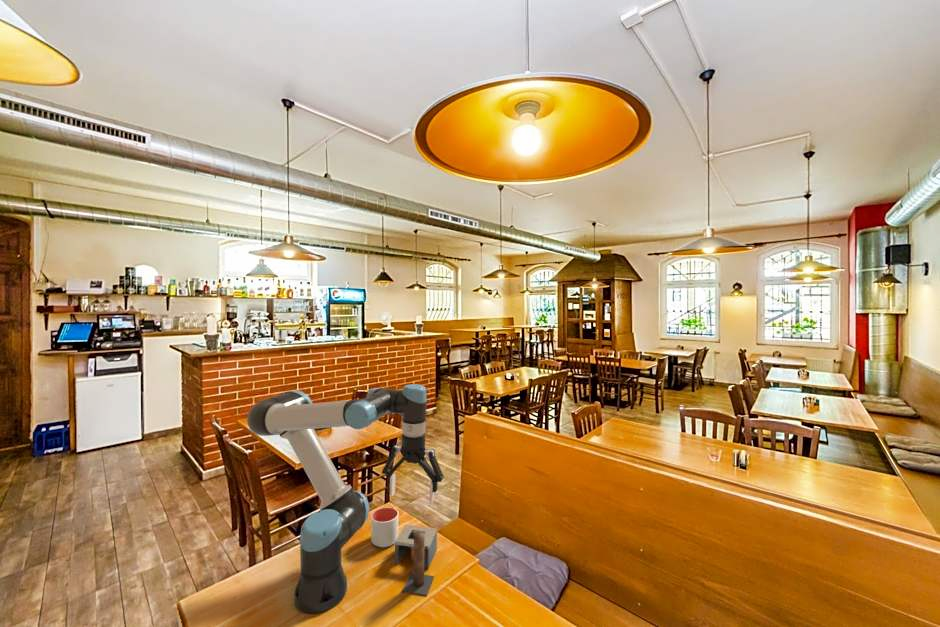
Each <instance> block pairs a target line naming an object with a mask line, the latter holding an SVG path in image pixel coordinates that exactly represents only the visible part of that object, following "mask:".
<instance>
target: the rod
mask: <svg viewBox="0 0 940 627" xmlns="http://www.w3.org/2000/svg"><path fill="white" fill-rule="evenodd" d="M424 539H425V534H424V532H422V531H418V532H415V533H414V561H413V572H412V573H413V585H414V586H415V587H422V586H423V585H424V575H425V551H424Z"/></svg>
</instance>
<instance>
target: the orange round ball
mask: <svg viewBox="0 0 940 627" xmlns="http://www.w3.org/2000/svg"><path fill="white" fill-rule="evenodd" d="M410 560H412V561H413V562H414V547H411V549H410Z"/></svg>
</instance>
